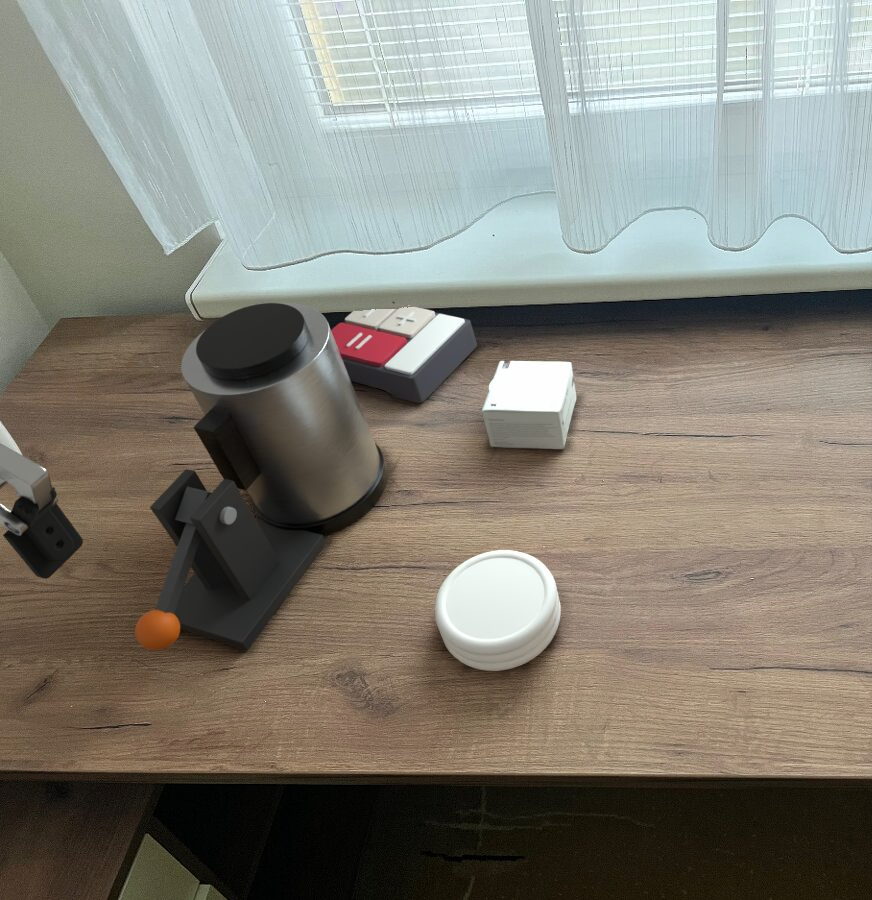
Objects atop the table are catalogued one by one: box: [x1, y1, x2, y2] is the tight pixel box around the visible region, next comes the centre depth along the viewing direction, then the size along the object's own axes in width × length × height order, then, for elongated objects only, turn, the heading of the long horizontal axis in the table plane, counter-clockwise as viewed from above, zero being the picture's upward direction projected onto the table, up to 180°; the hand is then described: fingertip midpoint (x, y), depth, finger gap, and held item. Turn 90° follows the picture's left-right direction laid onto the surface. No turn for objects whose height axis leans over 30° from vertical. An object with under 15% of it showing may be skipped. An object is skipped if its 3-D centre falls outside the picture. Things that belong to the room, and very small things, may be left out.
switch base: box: [149, 468, 327, 651], centre depth 74 cm, size 12×9×12 cm
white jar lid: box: [434, 549, 562, 672], centre depth 71 cm, size 10×10×4 cm
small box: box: [481, 360, 577, 450], centre depth 88 cm, size 8×8×5 cm
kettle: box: [180, 302, 389, 536], centre depth 79 cm, size 15×13×19 cm
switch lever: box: [134, 487, 212, 651], centre depth 70 cm, size 13×3×3 cm
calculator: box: [331, 306, 478, 404], centre depth 98 cm, size 11×4×15 cm
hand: (5, 543), depth 55 cm, fingers open, 9 cm apart
